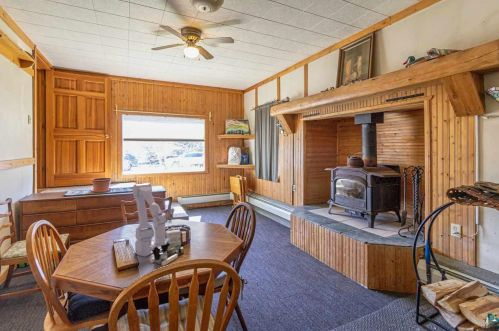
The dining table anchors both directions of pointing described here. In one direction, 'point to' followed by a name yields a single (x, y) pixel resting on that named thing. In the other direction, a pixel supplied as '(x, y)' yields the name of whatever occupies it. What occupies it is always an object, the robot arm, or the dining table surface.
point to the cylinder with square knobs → (176, 250)
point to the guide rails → (166, 259)
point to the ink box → (173, 238)
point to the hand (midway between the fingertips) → (160, 257)
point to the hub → (161, 257)
